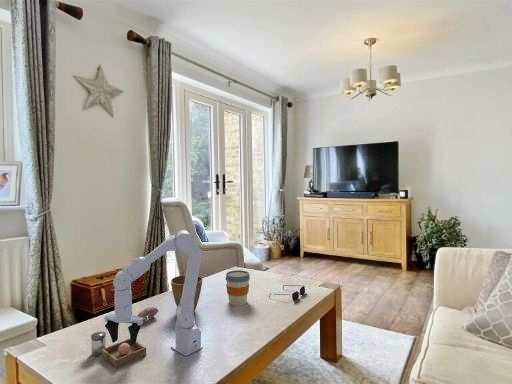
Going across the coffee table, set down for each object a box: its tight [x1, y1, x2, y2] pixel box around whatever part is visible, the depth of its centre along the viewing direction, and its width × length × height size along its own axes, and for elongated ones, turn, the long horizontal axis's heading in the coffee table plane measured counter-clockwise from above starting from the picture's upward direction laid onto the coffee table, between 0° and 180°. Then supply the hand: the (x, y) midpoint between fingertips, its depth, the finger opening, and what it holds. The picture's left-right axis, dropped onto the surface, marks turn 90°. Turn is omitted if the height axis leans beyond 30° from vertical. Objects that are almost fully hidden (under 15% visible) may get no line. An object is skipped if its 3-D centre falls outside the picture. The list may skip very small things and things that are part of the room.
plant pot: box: [170, 274, 203, 314], centre depth 154 cm, size 15×15×16 cm
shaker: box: [90, 331, 107, 358], centre depth 117 cm, size 5×5×7 cm
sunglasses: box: [268, 284, 306, 302], centre depth 176 cm, size 17×15×5 cm
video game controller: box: [136, 306, 159, 323], centre depth 145 cm, size 10×5×7 cm, turn 143°
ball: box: [118, 343, 130, 355], centre depth 115 cm, size 4×4×4 cm
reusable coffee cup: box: [225, 269, 251, 306], centre depth 166 cm, size 13×13×15 cm
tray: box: [101, 337, 147, 369], centre depth 115 cm, size 11×11×3 cm
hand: (124, 342), depth 115 cm, fingers open, 7 cm apart
